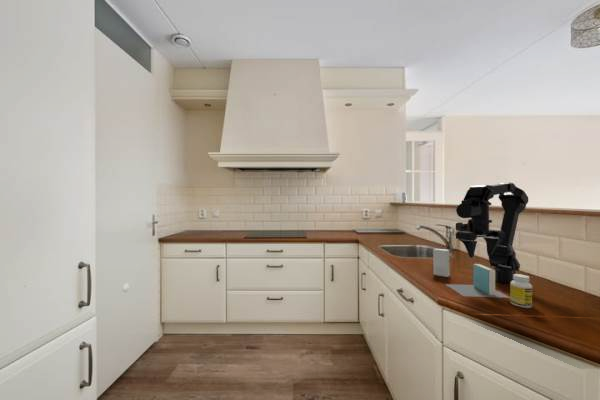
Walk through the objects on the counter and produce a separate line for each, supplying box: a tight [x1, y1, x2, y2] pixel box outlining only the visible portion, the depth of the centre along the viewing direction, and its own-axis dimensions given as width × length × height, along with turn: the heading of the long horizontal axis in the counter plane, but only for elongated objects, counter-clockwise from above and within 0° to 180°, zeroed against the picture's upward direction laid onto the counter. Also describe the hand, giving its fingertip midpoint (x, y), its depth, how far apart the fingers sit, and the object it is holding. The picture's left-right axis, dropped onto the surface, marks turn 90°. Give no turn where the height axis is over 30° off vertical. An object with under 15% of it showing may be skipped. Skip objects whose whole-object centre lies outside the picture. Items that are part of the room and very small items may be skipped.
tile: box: [472, 263, 496, 295], centre depth 95 cm, size 2×9×9 cm, turn 176°
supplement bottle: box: [509, 273, 533, 308], centre depth 82 cm, size 5×5×10 cm
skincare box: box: [432, 248, 450, 278], centre depth 115 cm, size 6×4×12 cm
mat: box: [445, 283, 510, 299], centre depth 95 cm, size 16×13×1 cm
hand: (480, 256), depth 98 cm, fingers open, 9 cm apart
